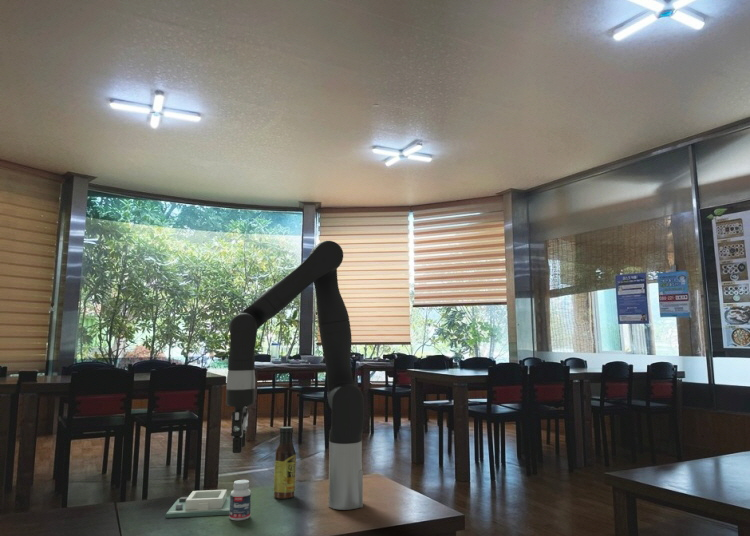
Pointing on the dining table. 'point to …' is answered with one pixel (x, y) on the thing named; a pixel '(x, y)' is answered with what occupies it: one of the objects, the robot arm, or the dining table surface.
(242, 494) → the pill bottle
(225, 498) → the board
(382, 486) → the dining table surface
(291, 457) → the sauce bottle
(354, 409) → the robot arm
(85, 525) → the dining table surface
